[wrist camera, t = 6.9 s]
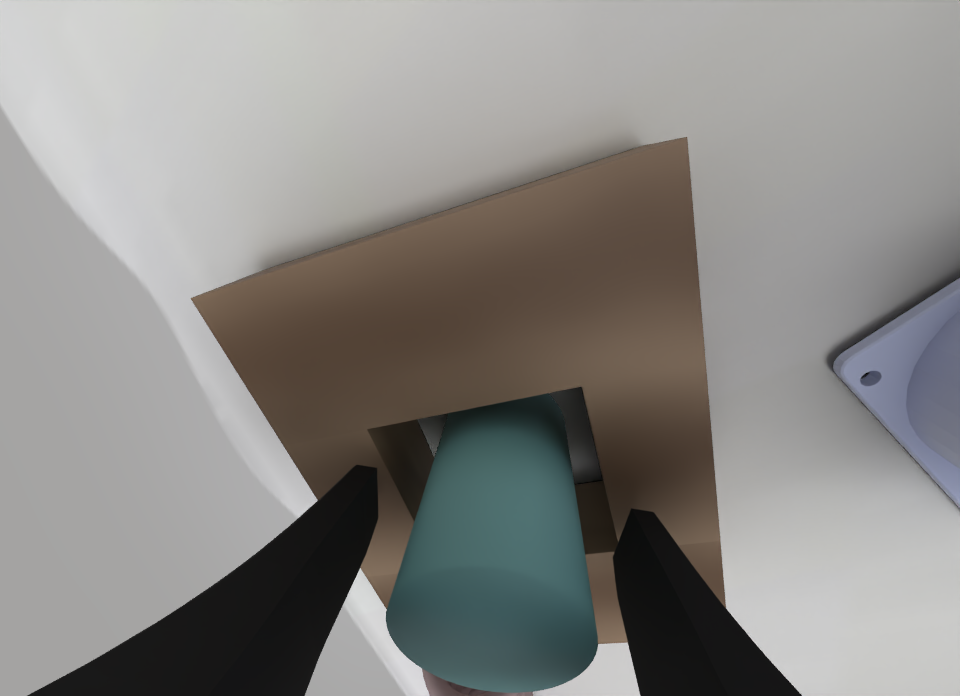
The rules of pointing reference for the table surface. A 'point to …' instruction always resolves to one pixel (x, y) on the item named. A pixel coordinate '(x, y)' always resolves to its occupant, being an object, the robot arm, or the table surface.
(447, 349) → the socket block
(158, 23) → the table surface
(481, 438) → the teal peg
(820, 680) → the table surface
